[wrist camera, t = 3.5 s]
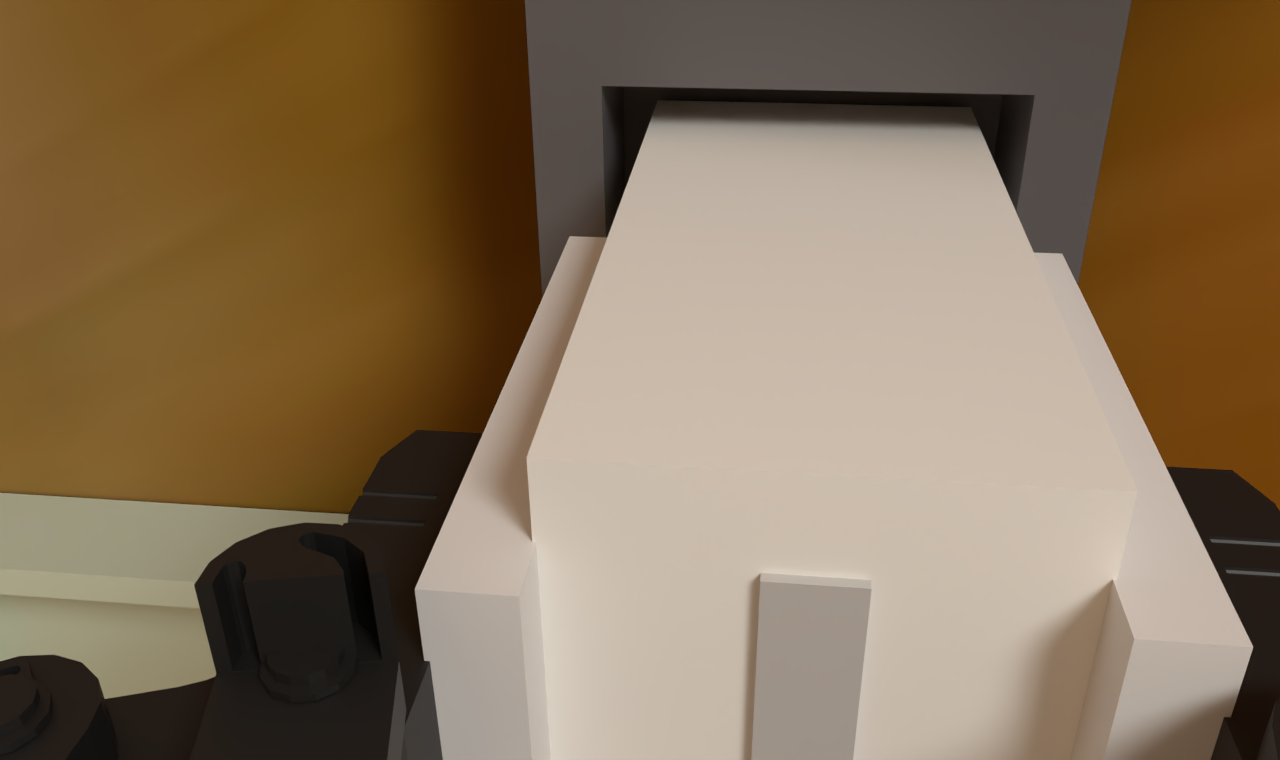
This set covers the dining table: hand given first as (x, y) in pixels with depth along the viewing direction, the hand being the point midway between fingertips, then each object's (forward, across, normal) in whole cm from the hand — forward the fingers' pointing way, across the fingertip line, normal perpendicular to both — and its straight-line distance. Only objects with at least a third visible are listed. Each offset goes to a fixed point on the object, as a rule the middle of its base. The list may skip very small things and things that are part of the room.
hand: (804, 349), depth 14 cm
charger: (+3, 0, 0) cm, 3 cm away
